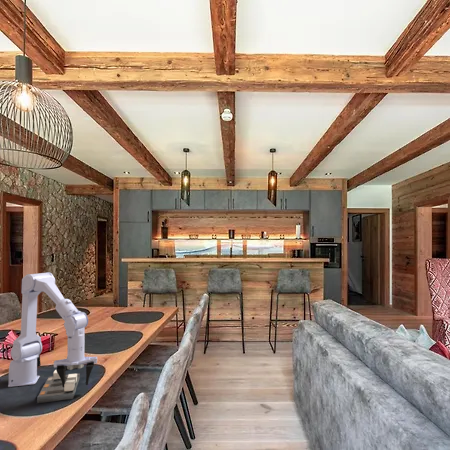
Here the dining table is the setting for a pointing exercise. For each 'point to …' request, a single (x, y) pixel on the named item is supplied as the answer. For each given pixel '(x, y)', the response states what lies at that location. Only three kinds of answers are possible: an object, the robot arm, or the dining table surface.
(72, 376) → the cream small block
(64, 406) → the dining table surface
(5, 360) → the dining table surface
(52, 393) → the switch unit
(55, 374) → the white small block
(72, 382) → the cream small block
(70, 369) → the egg carton
